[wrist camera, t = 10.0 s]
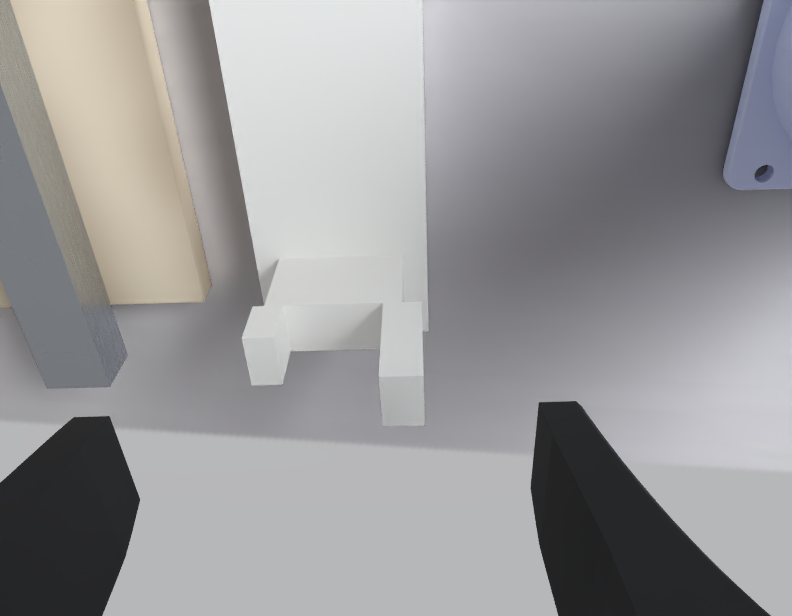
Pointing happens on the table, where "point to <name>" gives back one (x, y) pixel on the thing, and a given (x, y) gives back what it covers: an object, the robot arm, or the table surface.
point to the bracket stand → (332, 182)
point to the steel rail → (47, 237)
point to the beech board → (118, 145)
